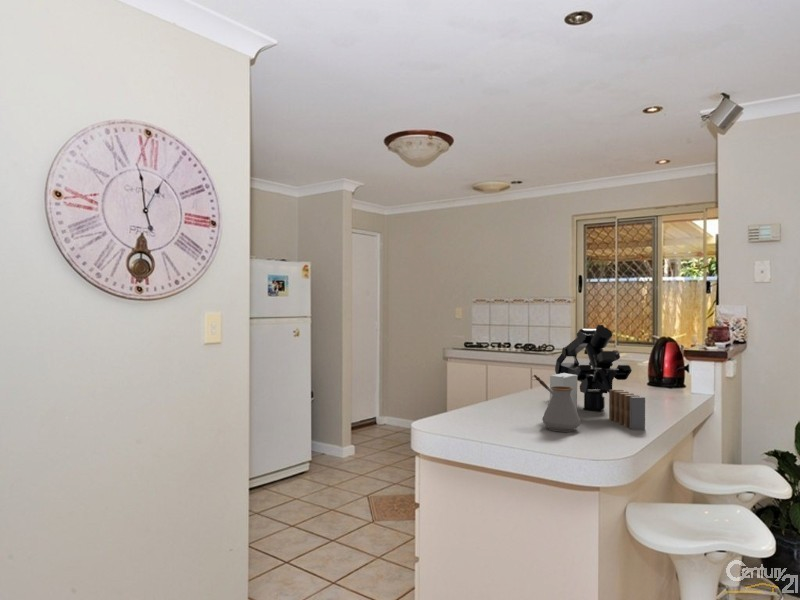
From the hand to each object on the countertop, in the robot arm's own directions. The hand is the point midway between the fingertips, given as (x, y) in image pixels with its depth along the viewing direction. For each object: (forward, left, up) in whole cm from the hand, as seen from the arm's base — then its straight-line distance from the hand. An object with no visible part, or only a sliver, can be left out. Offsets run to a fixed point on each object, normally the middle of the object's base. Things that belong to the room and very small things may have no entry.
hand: (610, 392), depth 187 cm
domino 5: (+9, -15, -9) cm, 20 cm away
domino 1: (+2, -4, -9) cm, 10 cm away
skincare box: (-14, -10, -9) cm, 19 cm away
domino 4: (+8, -12, -9) cm, 17 cm away
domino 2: (+4, -6, -9) cm, 12 cm away
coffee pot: (-15, -24, -9) cm, 29 cm away
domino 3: (+6, -9, -9) cm, 14 cm away
